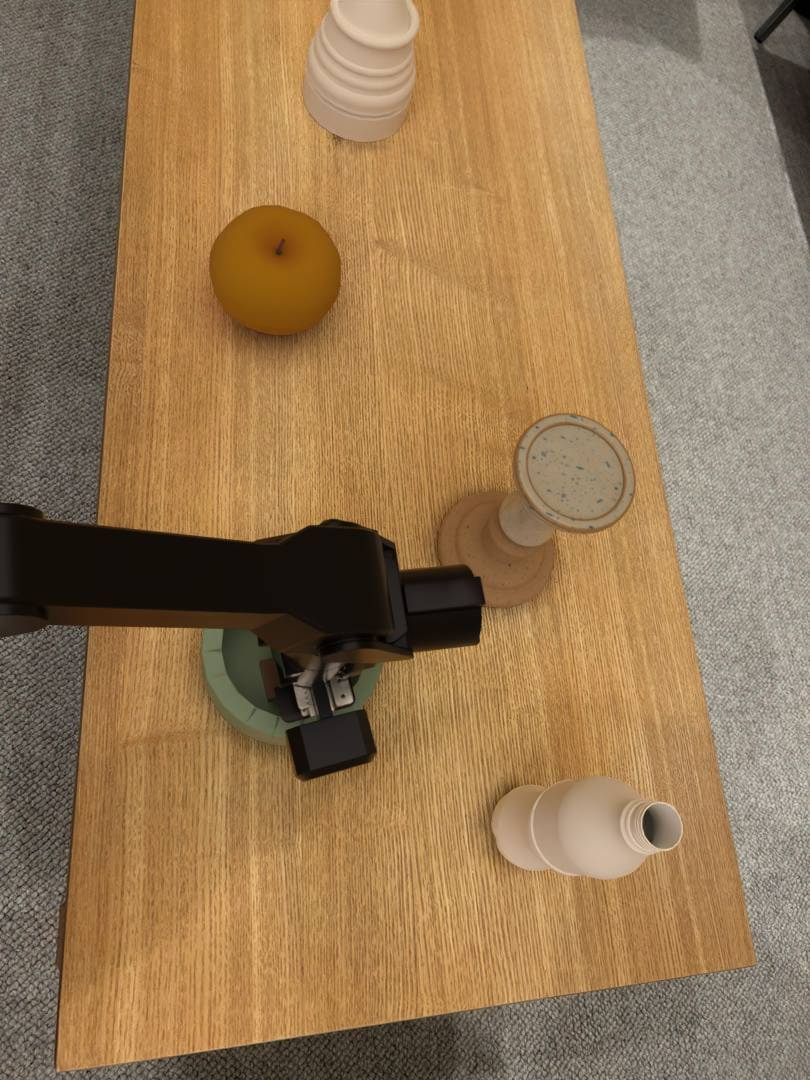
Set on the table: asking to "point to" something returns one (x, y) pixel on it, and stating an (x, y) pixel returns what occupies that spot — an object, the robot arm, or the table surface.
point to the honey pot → (362, 68)
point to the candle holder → (539, 506)
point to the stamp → (269, 678)
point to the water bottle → (583, 827)
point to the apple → (275, 270)
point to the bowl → (257, 685)
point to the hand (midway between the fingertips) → (296, 670)
